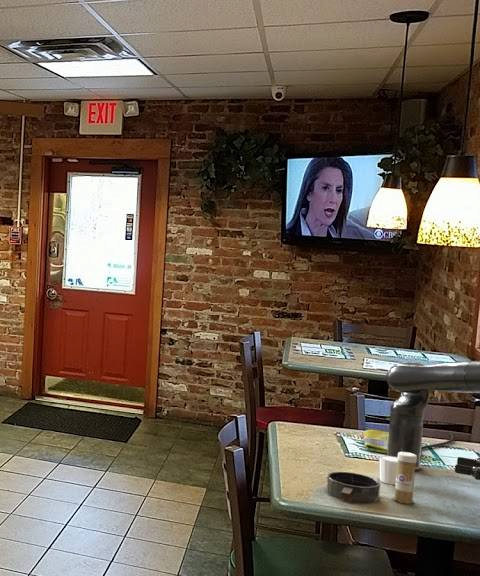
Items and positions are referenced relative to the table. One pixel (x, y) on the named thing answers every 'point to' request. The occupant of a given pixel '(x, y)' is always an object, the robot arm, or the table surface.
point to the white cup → (388, 469)
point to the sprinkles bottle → (405, 477)
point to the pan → (354, 486)
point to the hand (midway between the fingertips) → (456, 464)
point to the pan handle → (347, 494)
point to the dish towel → (376, 440)
